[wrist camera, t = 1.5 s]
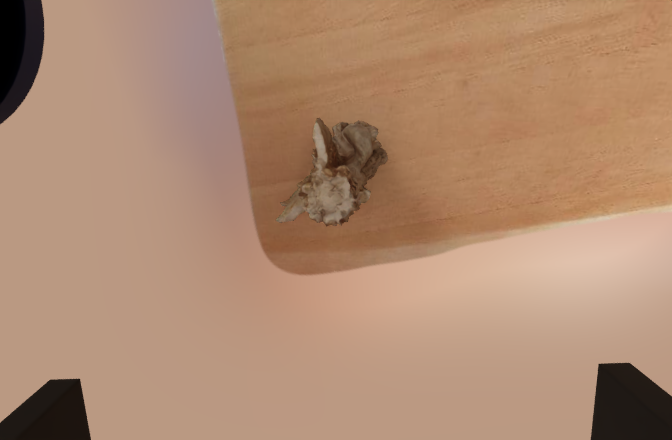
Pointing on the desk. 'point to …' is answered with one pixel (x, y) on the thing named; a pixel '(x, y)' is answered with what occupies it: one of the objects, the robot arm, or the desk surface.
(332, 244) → the desk surface
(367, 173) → the figurine
